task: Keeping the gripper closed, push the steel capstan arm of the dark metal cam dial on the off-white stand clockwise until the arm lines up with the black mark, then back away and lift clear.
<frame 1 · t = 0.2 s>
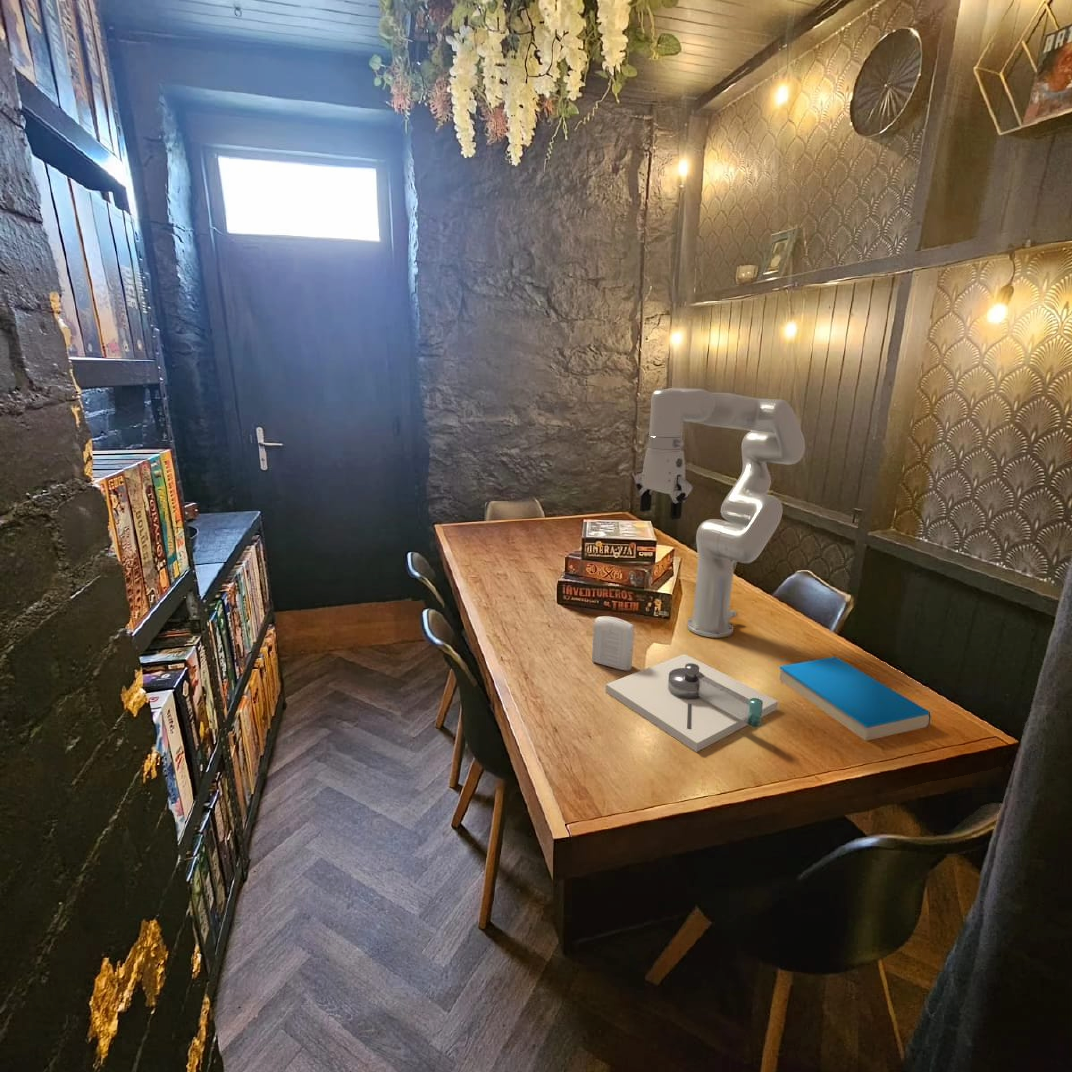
hand: (659, 514, 140), 37 cm above the table, tool pointing down, fingers open, 9 cm apart
stand base: (689, 700, 127), on the table
book: (847, 703, 127), on the table
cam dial: (713, 691, 121), point 5 cm above the table, hinge at 0.0°
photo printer: (611, 664, 143), on the table
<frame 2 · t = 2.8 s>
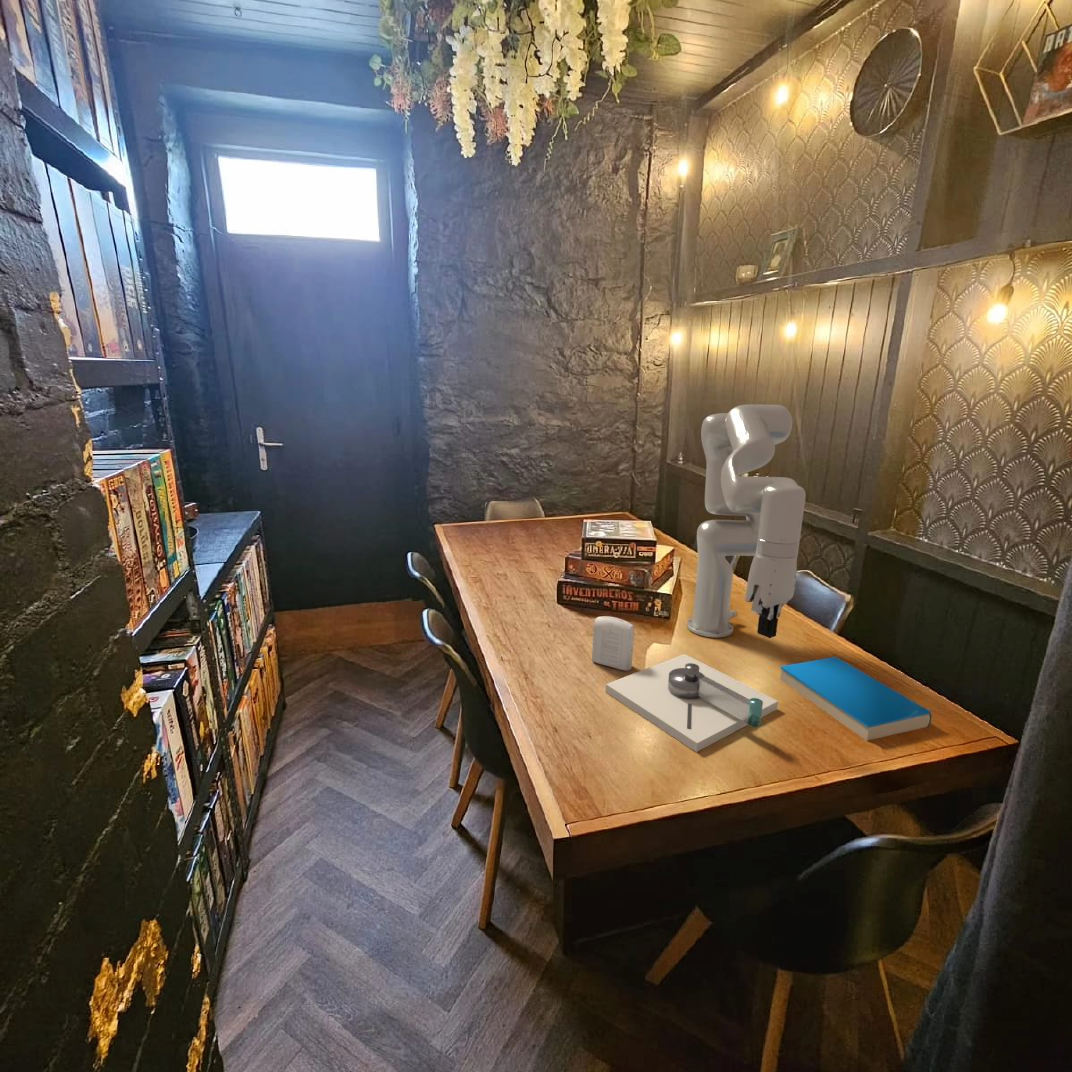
hand: (766, 634, 116), 19 cm above the table, tool pointing down, fingers closed
nothing on the table moved.
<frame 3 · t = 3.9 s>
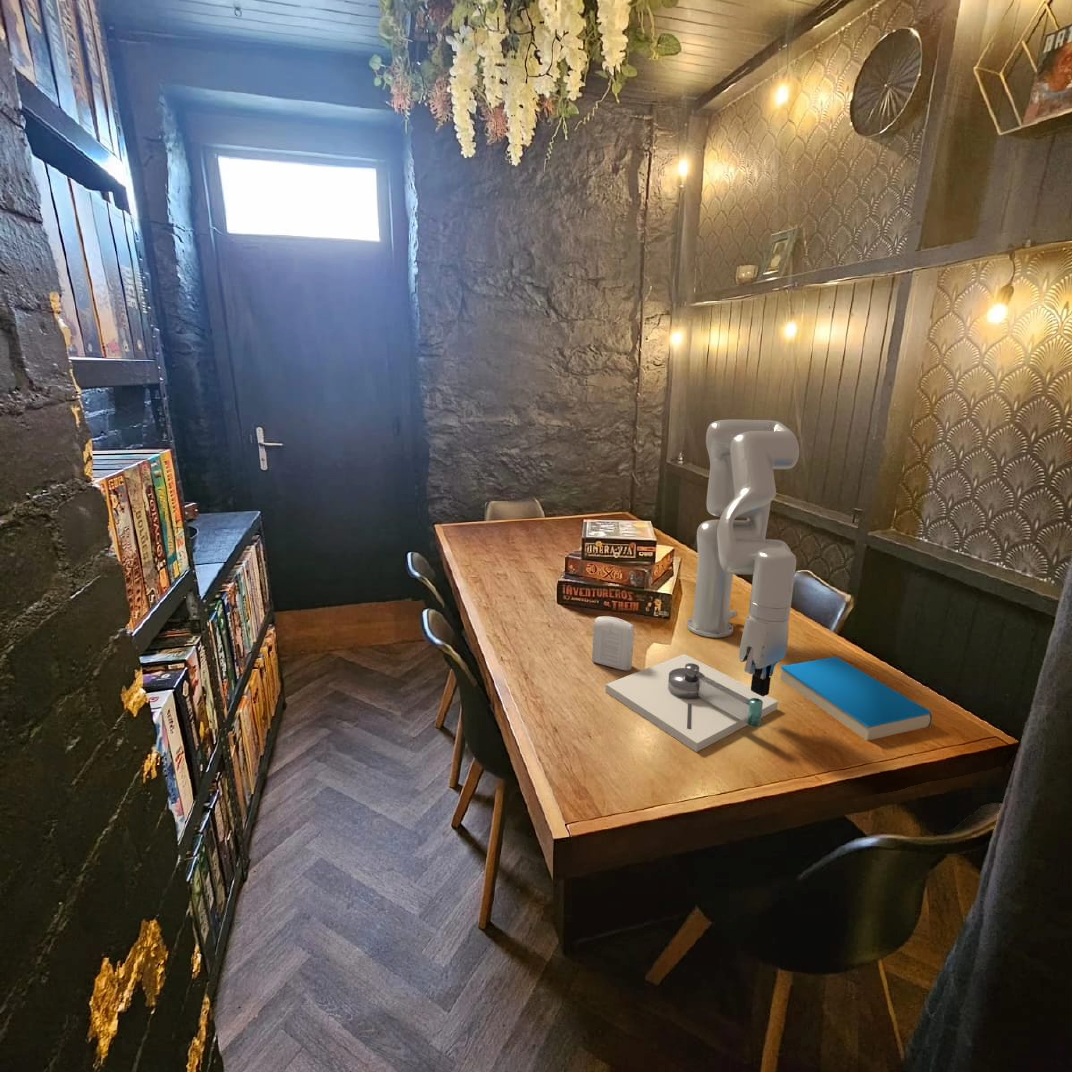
hand: (759, 692, 119), 6 cm above the table, tool pointing down, fingers closed
nothing on the table moved.
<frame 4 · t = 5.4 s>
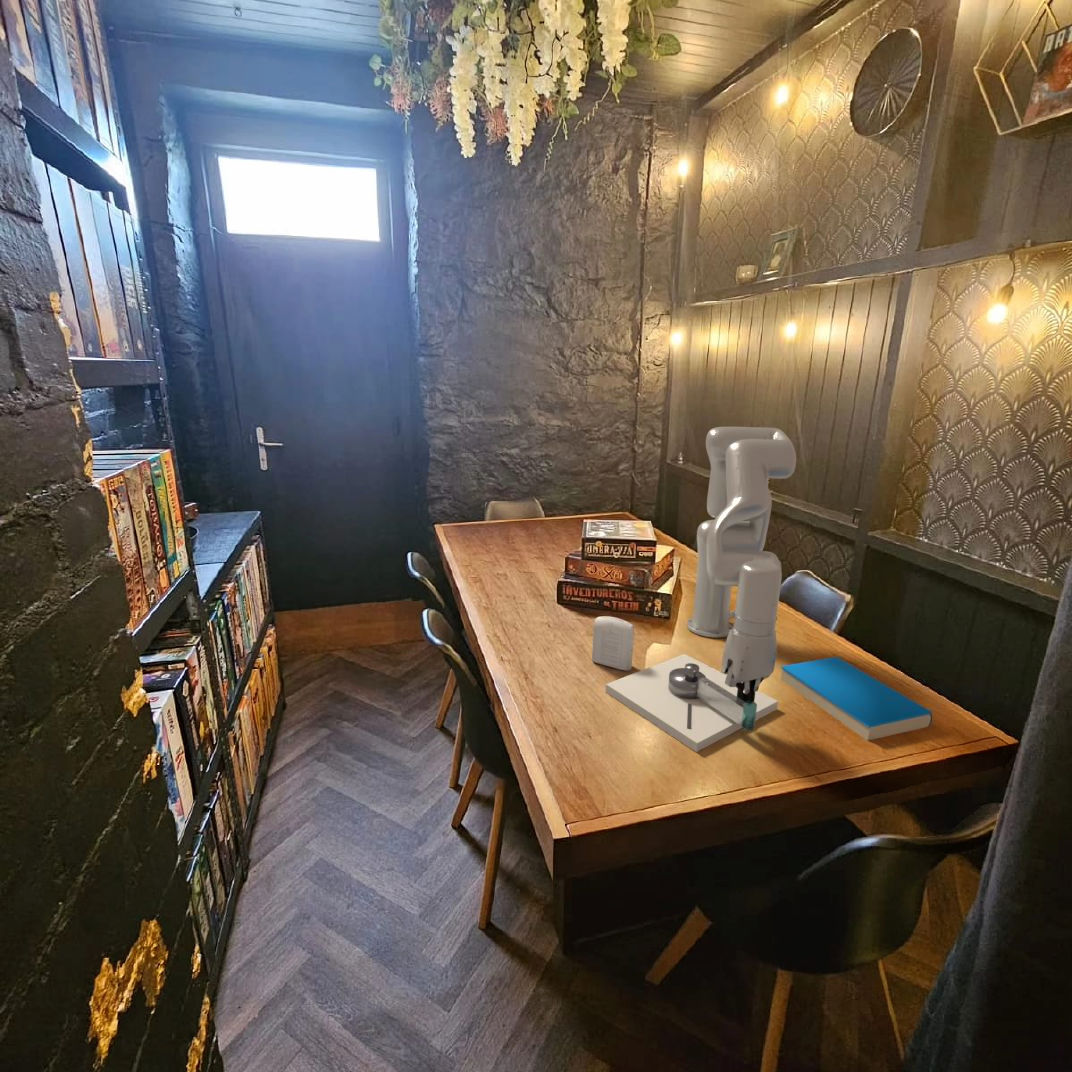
hand: (744, 706, 117), 4 cm above the table, tool pointing down, fingers closed
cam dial: (711, 692, 120), point 5 cm above the table, hinge at 6.3°, touching gripper
everything else where it was.
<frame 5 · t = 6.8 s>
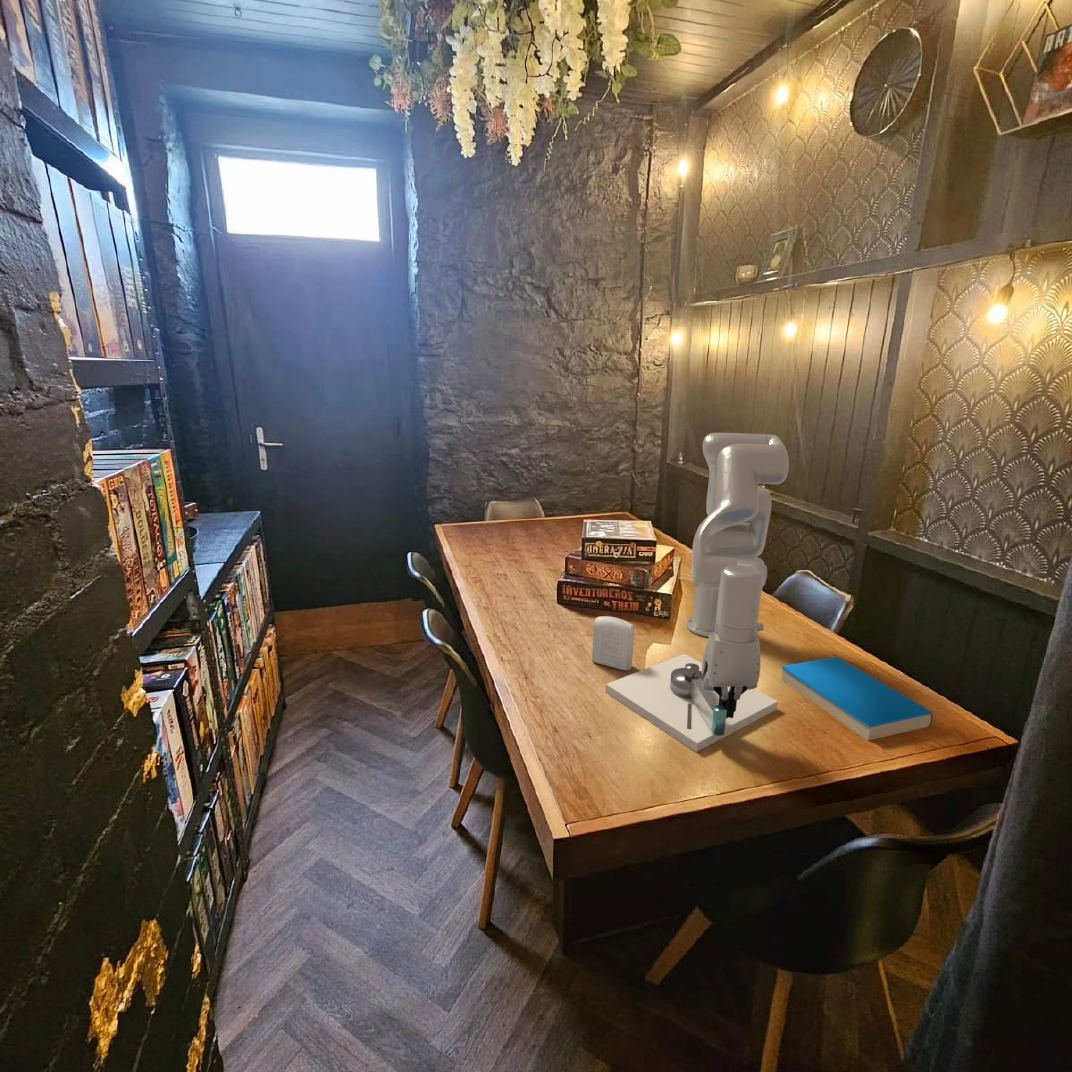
hand: (726, 714, 115), 4 cm above the table, tool pointing down, fingers closed
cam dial: (700, 693, 120), point 5 cm above the table, hinge at 30.5°, touching gripper
everything else where it was.
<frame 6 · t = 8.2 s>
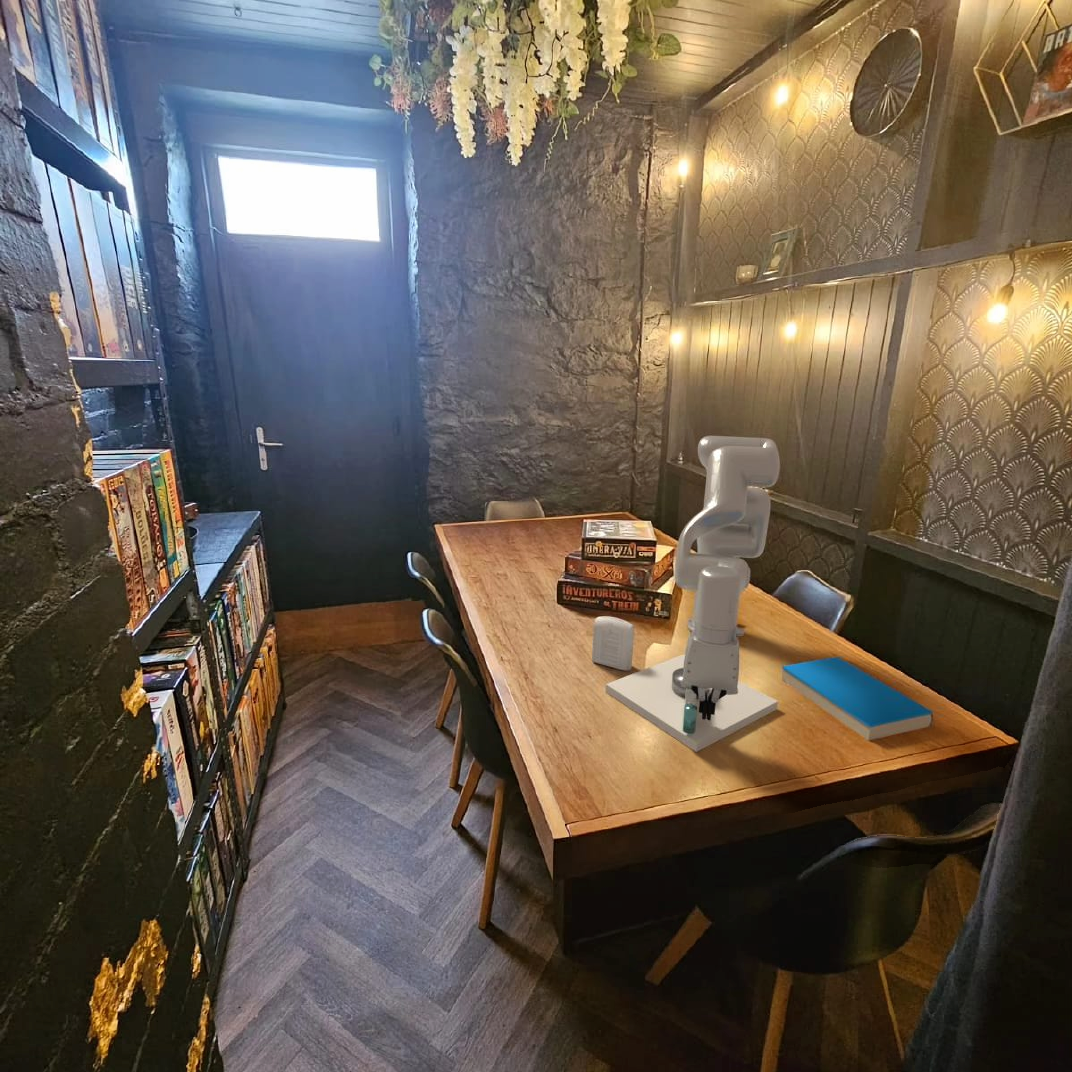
hand: (706, 715, 114), 4 cm above the table, tool pointing down, fingers closed
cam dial: (690, 693, 120), point 5 cm above the table, hinge at 50.2°, touching gripper
everything else where it was.
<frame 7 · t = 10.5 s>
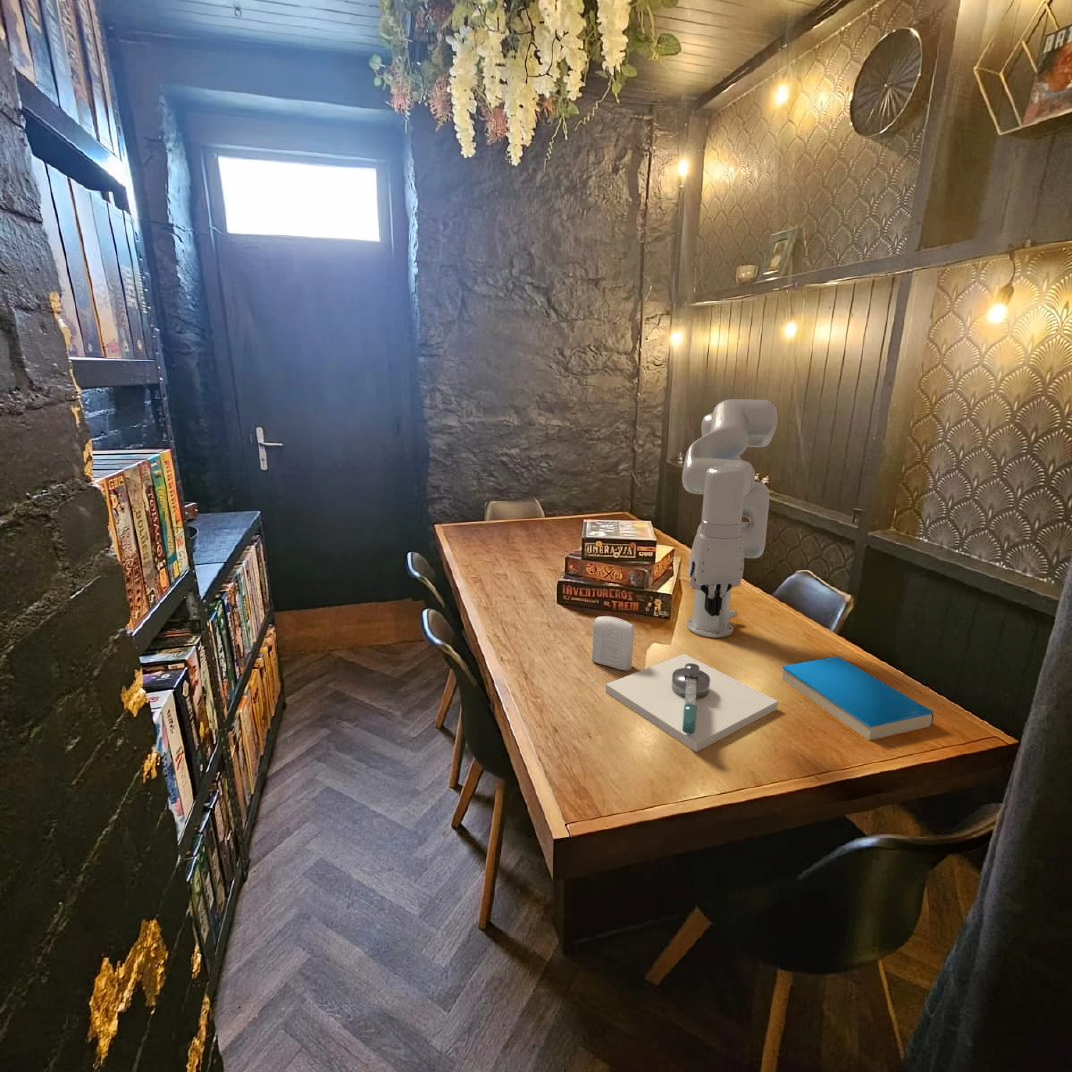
hand: (712, 613, 119), 22 cm above the table, tool pointing down, fingers closed
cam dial: (690, 693, 120), point 5 cm above the table, hinge at 50.3°
everything else where it was.
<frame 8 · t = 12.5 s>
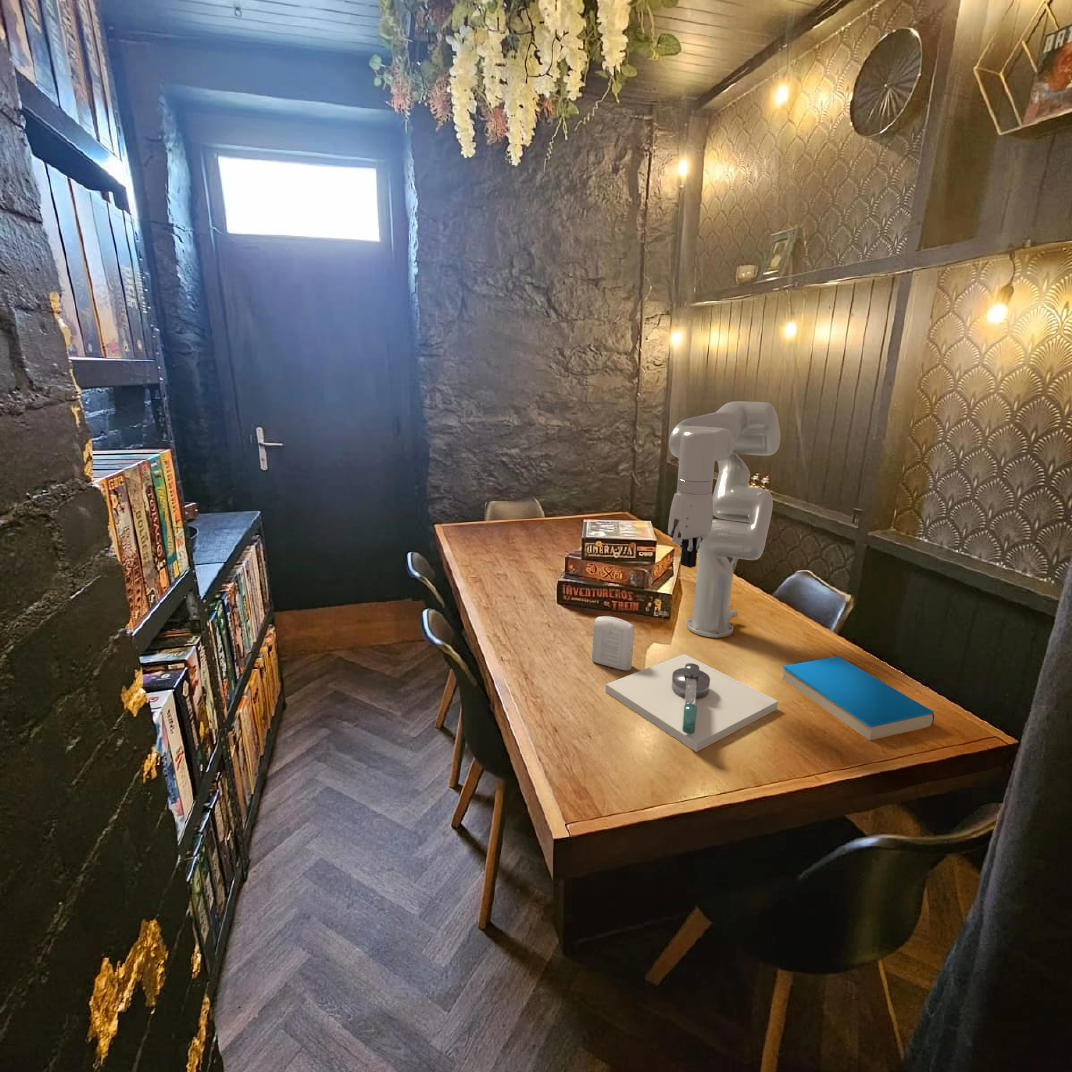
hand: (688, 565, 132), 27 cm above the table, tool pointing down, fingers closed
nothing on the table moved.
at the end: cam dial at +50° (first picture: +0°) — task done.
